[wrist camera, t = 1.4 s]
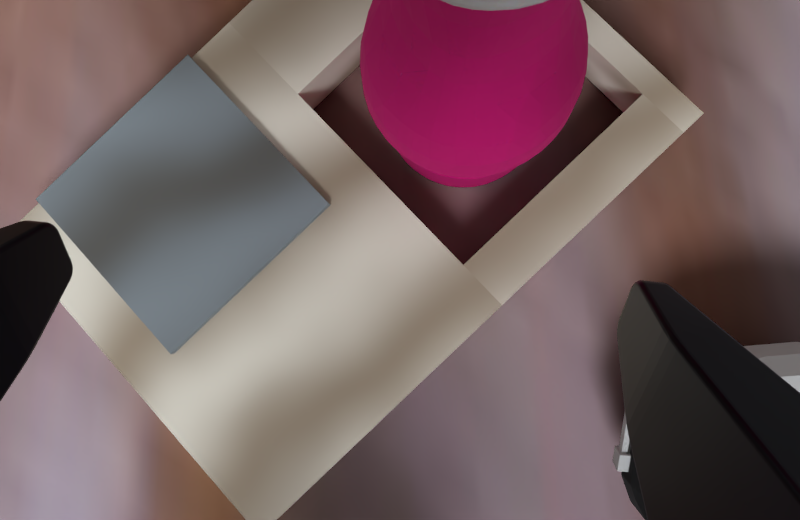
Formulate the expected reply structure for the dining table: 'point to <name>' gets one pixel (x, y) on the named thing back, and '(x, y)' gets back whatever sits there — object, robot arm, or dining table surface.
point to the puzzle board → (300, 246)
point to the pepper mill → (472, 81)
